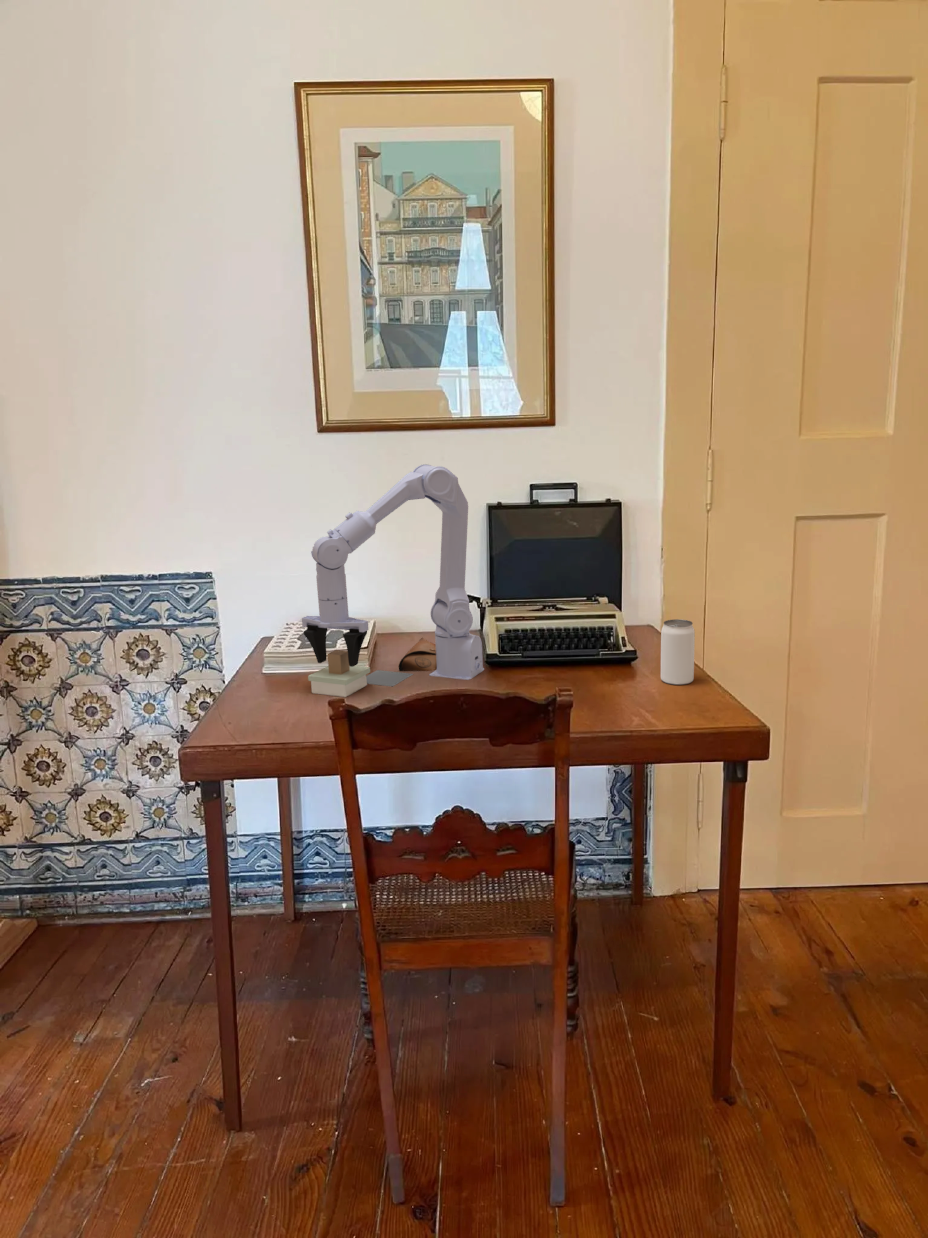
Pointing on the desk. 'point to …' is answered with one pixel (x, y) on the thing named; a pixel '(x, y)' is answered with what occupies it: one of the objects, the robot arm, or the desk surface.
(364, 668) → the lid
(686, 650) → the can
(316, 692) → the dish
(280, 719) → the desk surface
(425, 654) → the sunglasses case
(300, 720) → the desk surface
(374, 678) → the mat
